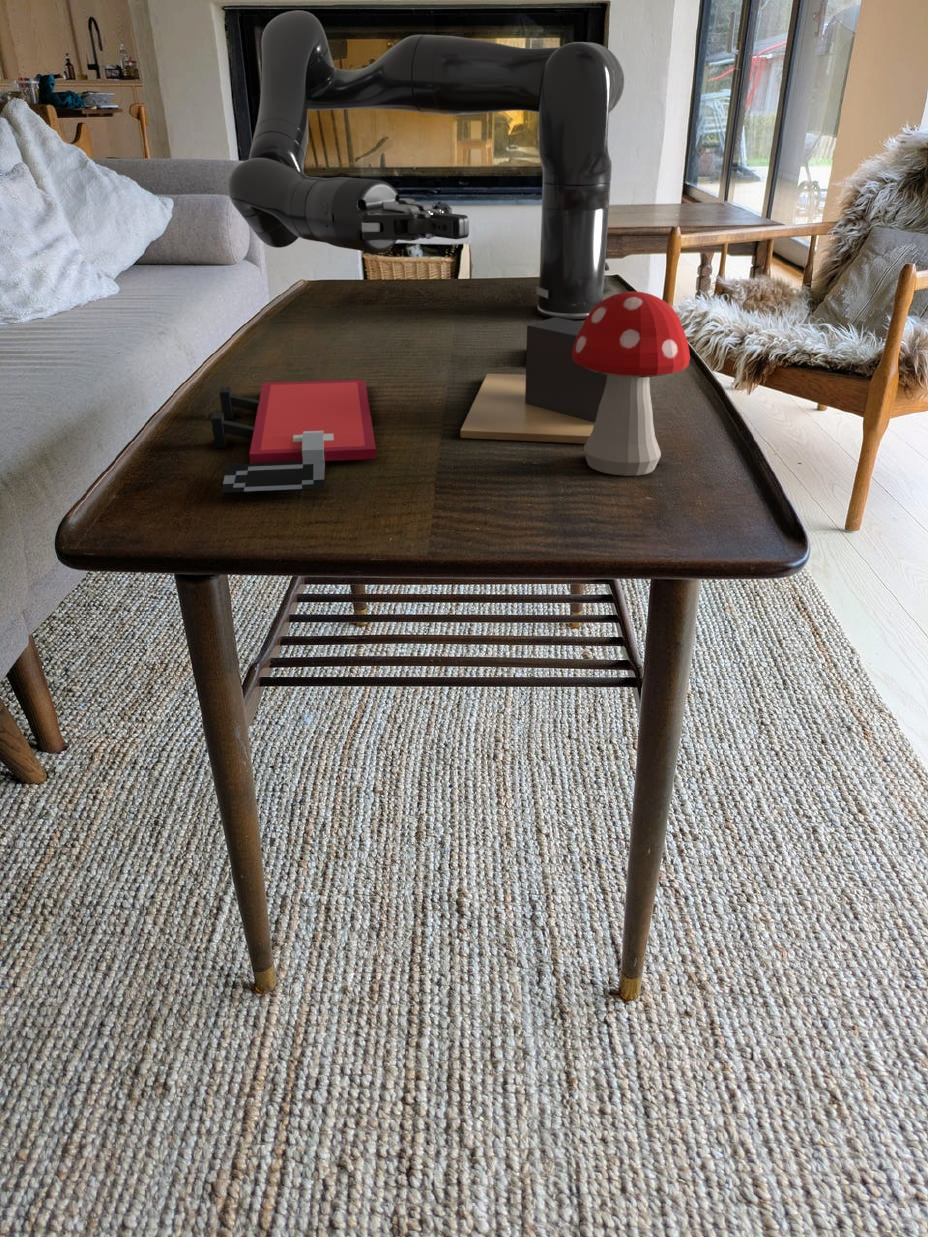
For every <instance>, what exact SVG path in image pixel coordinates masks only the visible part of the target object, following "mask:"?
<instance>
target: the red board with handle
mask: <svg viewBox="0 0 928 1237" xmlns="http://www.w3.org/2000/svg"><path fill="white" fill-rule="evenodd" d="M219 398H220V405H221V406H220V407H221V411H218V412H216V411H215V412H212V415H211V417H210V421H211V427H212V429H211V430H212V436H213V442H214V443H213V444H214V448H226V446H227V442H228V439H227V435H229V436H235V437H240V438H244V439H249V440H251V442H250V449H249V462H240V463H238V462H237V463H227V464H226V469H225V473H224V476H223V482H222V486H221V488H220V489H221V490H220V493H221V494H222V493H243V492H261V491H262V492H263V491H264V492H265V491H282V490H283V491H285V490H287V491H288V490H304V489H305V490H307V489H325V470H326V462H332V461H358V460H376V459H377V447H376V442H375V434H374V430H373V429H374V428H373V423H372V416H371V410H370V403H369V397H368V390H367V383H366V379H342V380H341V379H339V380H311V381H310V380H308V381H279V382H275V381H274V382H262V385H261V390H260V395H259V399H254V398H250V397H245V396H242V395H237V394H232V389H231V386H221V387H220V389H219ZM234 408H237V409H242V410H247V411H252V412H256V416H255V421H254V425H248V424H243V423H238V422H234V421H230V420H233V418H234V414H235V412H234Z"/></svg>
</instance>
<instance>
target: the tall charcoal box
mask: <svg viewBox="0 0 928 1237" xmlns="http://www.w3.org/2000/svg"><path fill="white" fill-rule="evenodd" d="M583 324H584V322H581V321H577V320H573V319H562V318H557V317H554V318H548V319H544V320H540V321H537V322H533V323H530V324H527V325H526V351H525V352H526V353H525V354H526V356H525V357H526V358H525V375H526V388H525V403H526V404H529V405H533V406H536V407H540V408H544V409H547V410H551V411H555V412H558V413H562V414H565V415H569V416H573V417H576V418H580V419H584V420H587V421H591V422H594V423H595V421H596V417H597V413H598V409H599V405H600V402H601V399H602V396H603V393H604V390H605V386H606V381H607V375H606V374H601V373H597V372H594V371H591V370H589V369H587V368H584V367H582V366H580V365H577V364H576V363H575V362H574V361H573V360H572V350H573V346H574V343H575V340H576V337H577V335H578V333H579V331H580V329H581V327H582V325H583Z"/></svg>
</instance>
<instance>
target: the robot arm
mask: <svg viewBox="0 0 928 1237" xmlns="http://www.w3.org/2000/svg"><path fill="white" fill-rule="evenodd" d="M261 61H262V62H261V84H260V86H261V87H260V97H259V107H258V113H257V114H258V115H257V120H256V125H255V129H254V133H253V137H252V141H251V146H250V149H249V150H250V151H249V155H248V159H246V160H244V161H242V162H241V163H239V164H237V165H236V167H234V169H233V170H232V171H231V173H230V175H229V177H228V182H227V194H228V198H229V200H230V202H231V203H232V205H233V206H234V208H235V209H236V210H237V212H238V213H239V214H240V216H241V217H242V218H243V220H244V221H245V222H246V223H247V225H248V226H249V227H250V228H251V229H252V231H253V232H254V234H255V235H256V236H257V237H258V238H259V240H260V241H262V242H263V243H264V244H265V245H267V246H268V247H271V248H277V249H279V248H280V249H281V248H286V247H289V246H290V245H292V244H294V243H295V242H296V241H297V240H299V238H300V239H303V240H307V241H312V242H318V243H323V244H325V243H326V244H329V245H331V246H333V247H337V248H340V249H341V248H343V249H348V250H355V251H362V252H369V253H373V254H374V253H375V254H380V253H384V252H387V251H388V250H390V249H391V248H392V247H393V246H394V245H395V244H396V243H397V241H406V242H412V241H418V240H419V239H422V240H423V239H426V240H431V239H432V238H443V239H451V240H462V239H466V238H468V237H469V235H470V225H469V224H470V221H469V220H470V219H469V216H468V215H466V214H459V213H453V209H452V207H451V206H450V205H448V204H447V203H446V202H443V201H438V202H435V203H433V204H431V203H429V202H428V203H427V202H420V201H416V200H415V199H414V198H407V197H405V198H401V197H400V195H399V193H398V192H397V190H396V189H395V188H394V186H392V185H391V184H389V183H388V182H387V181H384V180H379V179H369V178H358V177H345V176H337V177H318V176H308V175H307V174H305V173H304V169H305V164H306V159H307V155H308V154H307V152H308V148H309V136H310V134H309V130H310V129H309V112H308V111H331V110H334V111H335V110H360V109H363V110H365V109H369V110H389V111H390V110H391V111H404V112H412V113H413V112H414V113H421V114H433V115H434V114H435V115H445V116H447V115H449V116H450V115H451V116H452V115H453V116H456V115H457V116H459V115H460V116H461V115H463V116H464V115H482V114H491V113H502V112H513V111H514V112H515V111H518V112H519V111H520V112H522V111H523V112H531V113H538V155H539V160H540V164H541V169H542V178H541V179H542V180H541V181H542V184H541V185H542V186H541V223H540V248H539V251H540V252H539V280H538V283H539V284H538V286H536V295H538V305H537V313H538V314H539V315H541V316H543V317H546V318H549V319H551V318H554V317H557V318H562V319H567V320H586V318H587V316H588V315H589V313H590V312H591V310H592V309H593V308H594V307H595V306H596V305H597V304H599V303H600V302H602V301H603V300H604V291H605V289H606V288H607V286H608V284H609V283H608V280H607V279H606V277H605V273H606V272H605V271H610V267H609V264H608V263H607V260H606V259H607V247H608V246H607V245H608V244H607V243H608V231H609V230H608V227H609V216H610V214H609V213H610V198H611V184H612V183H611V181H612V170H613V169H612V168H613V166H612V165H613V164H612V159H611V157H610V153H609V143H608V141H609V138H608V136H609V116H610V115H609V114H611V112H612V111H613V110H614V109H615V108H616V106H617V105H618V103H619V102H620V100H621V98H622V95H623V92H624V88H625V75H624V70H623V67H622V65H621V63H620V61H619V59H618V58H617V56H616V55H615V54H614V53H613V52H612V51H611V50H610V49H609V48H607V47H606V46H605V45H602V44H599V43H596V42H588V41H586V42H584V41H573V42H570V43H566V44H564V45H561V46H558V47H540V48H539V47H538V48H536V47H535V48H532V47H529V48H528V47H519V46H512V45H507V44H502V43H499V42H498V43H497V42H493V41H487V40H482V39H476V38H469V37H462V36H452V35H440V34H439V35H438V34H437V35H435V34H413V35H410V36H407V37H405V38H404V39H402V40H400V41H398V42H397V43H396V44H395V45H393V46H392V47H390V48H389V49H388V50H387V51H386V52H384V54H382V55H381V56H380V57H378V59H376V60H375V61H374V62H372V63H370V65H368V66H365V67H363V68H358V69H341V68H339V67H336V66H335V63H334V60H333V57H332V53H331V50H330V46H329V42H328V39H327V35H326V32H325V30H324V27H323V25H322V23H321V21H320V20H319V19H318V17H316V16H315V15H314V14H313V13H311V12H309V11H305V10H291V11H290V10H289V11H286V12H283V13H280V14H279V15H277V16H275V17H274V18H272V19H271V20H270V21H268V23H267V24H266V26H265V28H264V29H263V32H262V35H261Z"/></svg>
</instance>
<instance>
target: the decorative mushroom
mask: <svg viewBox="0 0 928 1237" xmlns="http://www.w3.org/2000/svg"><path fill="white" fill-rule="evenodd" d="M583 323H584V324H583V325H582V327H581V329H580V331H579V333H578V335H577V337H576V340H575V343H574V346H573V350H572V360H573V361H574V362H575V363H576V364H577V365H580V366H582V367H584V368H587V369H589V370H591V371H594V372H597V373H601V374H606V375H607V381H606V386H605V390H604V393H603V396H602V399H601V402H600V405H599V409H598V413H597V417H596V421H595V424H594V427H593V430H592V433H591V435H590V437H589V438H588V440H587V442H586V444H584V446H583V453H584V456H585V460H586V463H587V465H588V467H589V468H591V469H592V470H595V471H597V472H601V473H604V474H610V475H615V476H642V475H646V474H650V473H652V472H653V471H654V470H656V467H657V464H658V463H659V461H660V458H661V457H662V453H661V449H660V447H659V446H660V445H659V443H658V441H657V438H656V434H655V427H654V415H653V404H652V398H651V386H650V378H654V377H655V378H657V377H662V376H667V375H672V374H675V373H679V372H681V371H684V370H686V369H687V368H688V367H689V365H690V360H691V355H690V348H689V341H688V338H687V335H686V333H685V330H684V328H683V324H682V322H681V319H680V317H679V315H678V313H677V312H676V311H675V309H674V308H673V307H672V306H671V305H670V304H669V303H668V302H666V301H665V300H663V299H662V298H660V297H658V296H656V295H653V294H651V293H648V292H644V291H643V292H642V291H634V290H633V291H623V292H619V293H616V294H612V295H610V296H609V297H607V298H604V299H603V301H602V302H600V303H599V304H597V305H596V306H595V307H594V308H593V309H592V310H591V312H590V313H589V315H588V316H587V318H586V319H584V322H583Z"/></svg>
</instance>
